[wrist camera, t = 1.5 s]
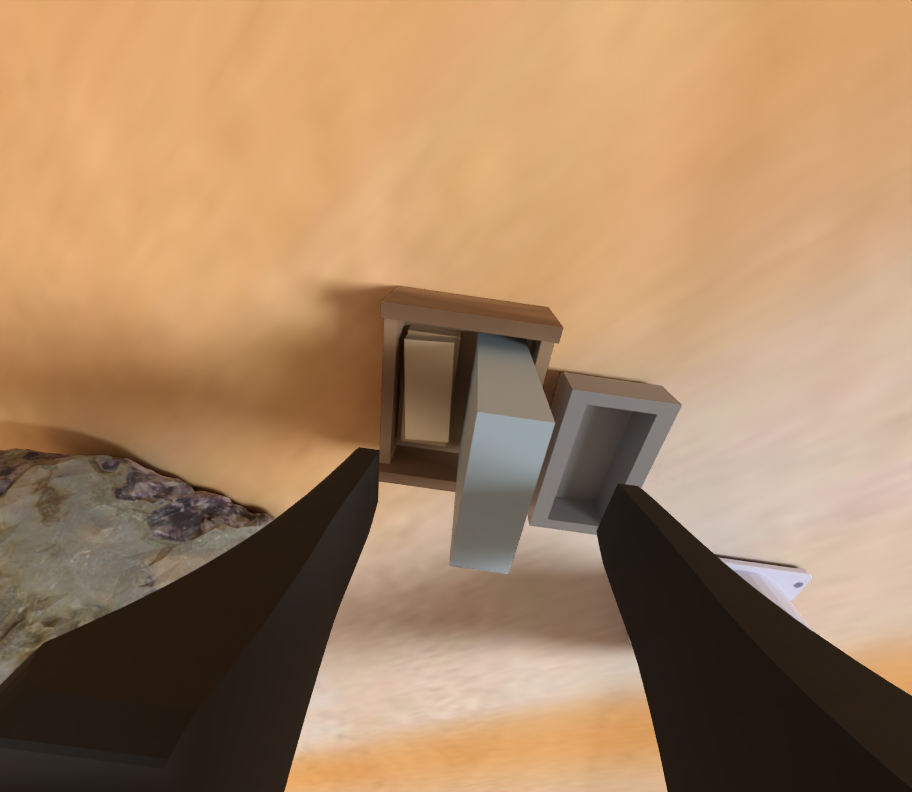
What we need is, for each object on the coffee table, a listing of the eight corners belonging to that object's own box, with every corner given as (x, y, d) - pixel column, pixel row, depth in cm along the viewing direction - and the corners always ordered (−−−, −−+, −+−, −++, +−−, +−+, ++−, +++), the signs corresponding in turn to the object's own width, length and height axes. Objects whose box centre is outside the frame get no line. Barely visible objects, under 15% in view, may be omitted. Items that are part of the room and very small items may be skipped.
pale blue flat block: (498, 449, 18) (508, 574, 12) (459, 443, 18) (449, 565, 12) (524, 336, 15) (555, 422, 9) (478, 330, 15) (477, 411, 9)
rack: (510, 460, 19) (514, 500, 17) (390, 443, 19) (375, 480, 17) (548, 307, 15) (563, 327, 13) (397, 285, 15) (381, 301, 13)
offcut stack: (448, 438, 18) (446, 455, 17) (403, 432, 18) (397, 448, 17) (464, 332, 15) (462, 343, 14) (410, 324, 15) (404, 334, 14)
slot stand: (603, 506, 20) (616, 537, 18) (524, 495, 20) (529, 525, 18) (658, 382, 17) (681, 404, 15) (561, 368, 17) (572, 389, 15)
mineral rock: (33, 429, 20) (-313, 598, 12) (172, 369, 18) (-128, 523, 9) (186, 570, 26) (30, 761, 17) (309, 538, 23) (204, 740, 14)
